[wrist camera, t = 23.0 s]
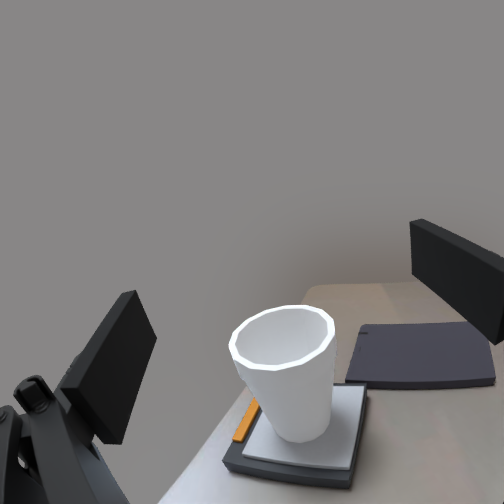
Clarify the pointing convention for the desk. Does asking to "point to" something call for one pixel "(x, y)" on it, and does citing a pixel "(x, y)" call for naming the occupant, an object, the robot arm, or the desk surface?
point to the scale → (302, 444)
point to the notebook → (421, 356)
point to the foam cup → (289, 367)
